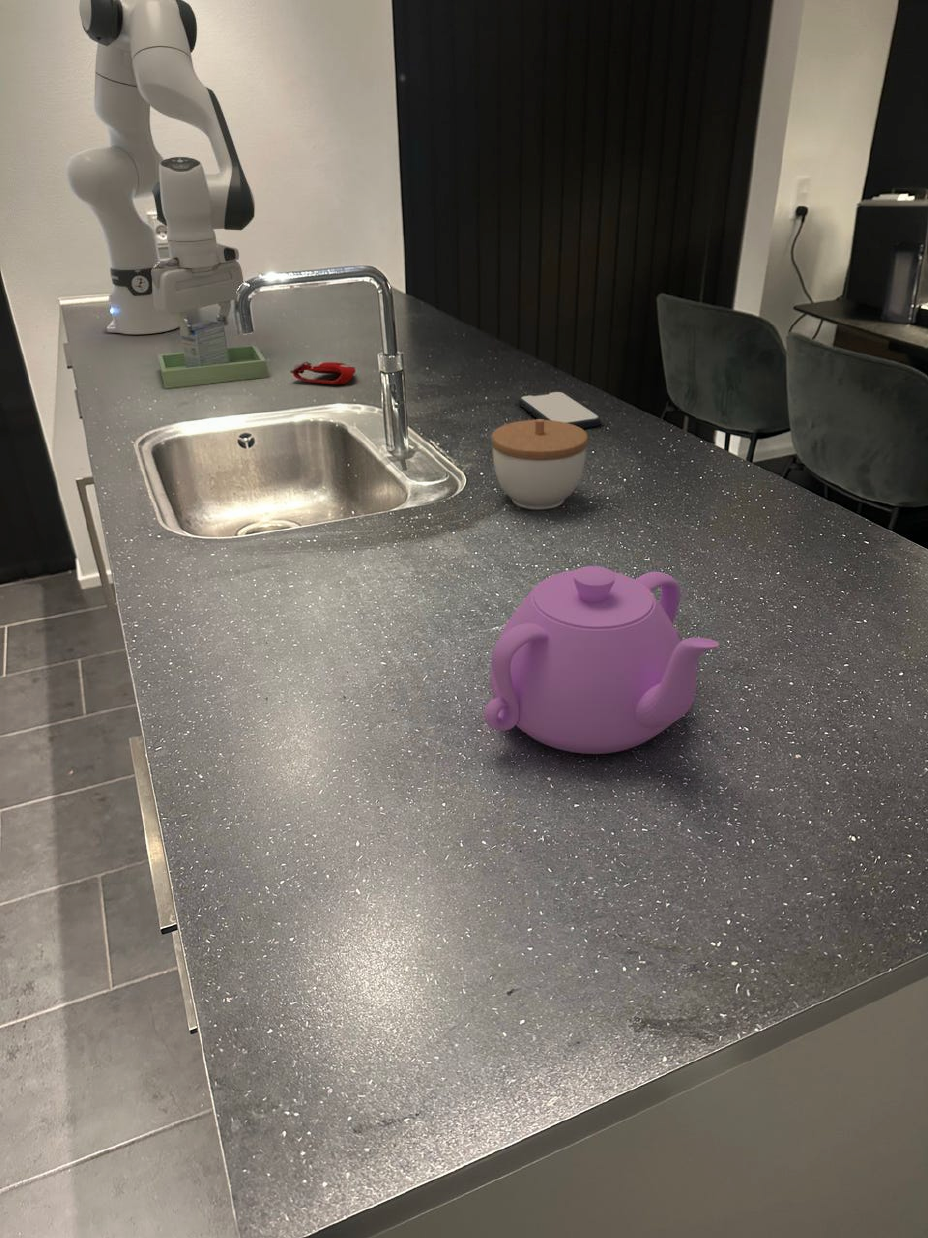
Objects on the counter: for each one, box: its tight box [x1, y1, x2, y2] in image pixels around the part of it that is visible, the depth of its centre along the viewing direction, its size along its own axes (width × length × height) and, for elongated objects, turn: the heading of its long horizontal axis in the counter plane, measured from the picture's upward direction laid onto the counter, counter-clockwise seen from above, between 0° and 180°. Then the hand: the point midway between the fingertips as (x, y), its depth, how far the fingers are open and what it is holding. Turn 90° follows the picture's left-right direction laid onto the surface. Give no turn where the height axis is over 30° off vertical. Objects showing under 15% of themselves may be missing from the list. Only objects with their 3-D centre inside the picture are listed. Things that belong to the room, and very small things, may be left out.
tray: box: [157, 344, 269, 389], centre depth 180 cm, size 14×20×3 cm
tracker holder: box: [289, 360, 356, 386], centre depth 174 cm, size 12×4×10 cm
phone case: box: [518, 391, 601, 430], centre depth 153 cm, size 9×2×16 cm
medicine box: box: [179, 320, 229, 368], centre depth 179 cm, size 8×4×9 cm, turn 149°
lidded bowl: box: [491, 418, 589, 510], centre depth 120 cm, size 13×13×11 cm
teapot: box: [483, 565, 720, 755], centre depth 76 cm, size 22×22×14 cm
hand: (205, 329), depth 177 cm, fingers open, 8 cm apart
